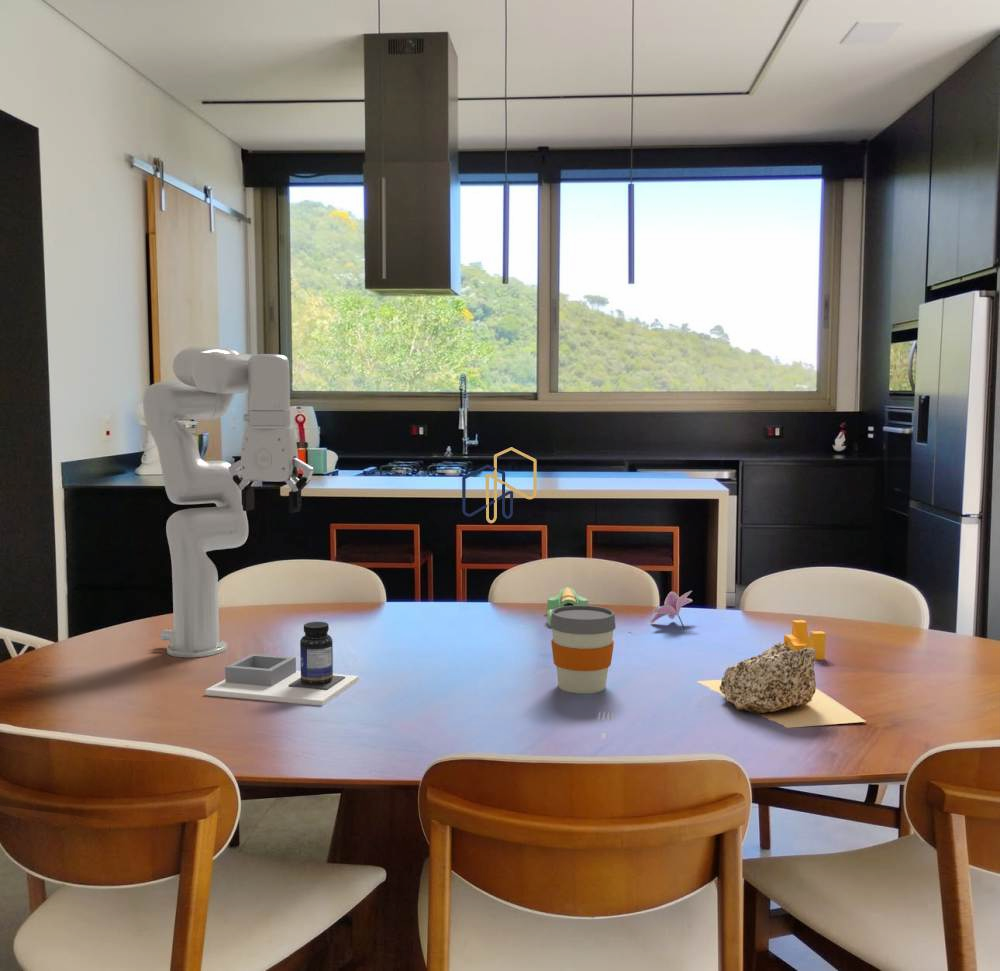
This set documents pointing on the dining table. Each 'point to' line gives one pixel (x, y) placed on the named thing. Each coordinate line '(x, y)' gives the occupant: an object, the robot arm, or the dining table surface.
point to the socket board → (276, 682)
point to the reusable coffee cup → (582, 646)
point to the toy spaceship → (564, 601)
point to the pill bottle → (316, 654)
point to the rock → (781, 689)
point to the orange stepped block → (805, 639)
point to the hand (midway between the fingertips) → (271, 511)
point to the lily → (672, 606)
